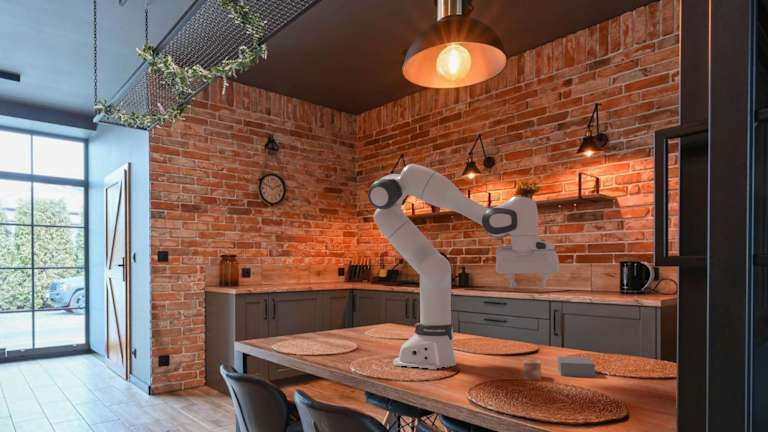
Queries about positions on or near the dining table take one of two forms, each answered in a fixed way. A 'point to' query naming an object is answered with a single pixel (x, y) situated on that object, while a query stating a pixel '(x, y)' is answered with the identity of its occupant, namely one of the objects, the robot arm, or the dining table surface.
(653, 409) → the dining table surface
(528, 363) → the cube
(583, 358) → the base block
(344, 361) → the dining table surface
